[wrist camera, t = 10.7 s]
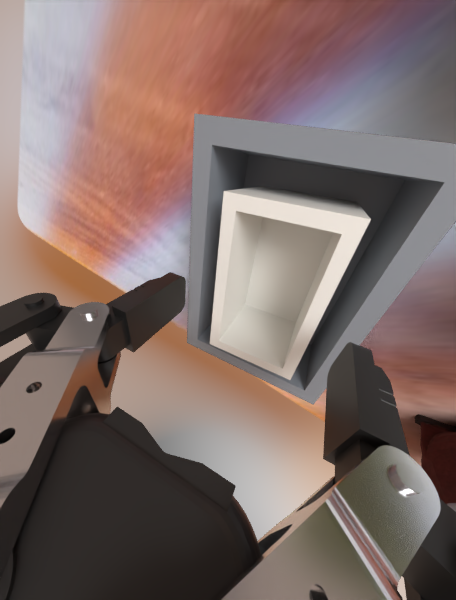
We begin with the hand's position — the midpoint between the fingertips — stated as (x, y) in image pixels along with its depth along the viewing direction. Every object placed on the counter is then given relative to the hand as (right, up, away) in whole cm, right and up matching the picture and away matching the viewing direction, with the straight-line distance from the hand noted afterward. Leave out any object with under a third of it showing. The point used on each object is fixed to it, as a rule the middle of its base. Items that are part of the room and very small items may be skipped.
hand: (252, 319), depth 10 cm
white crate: (+3, +4, +6) cm, 8 cm away
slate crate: (+4, +4, +7) cm, 9 cm away
